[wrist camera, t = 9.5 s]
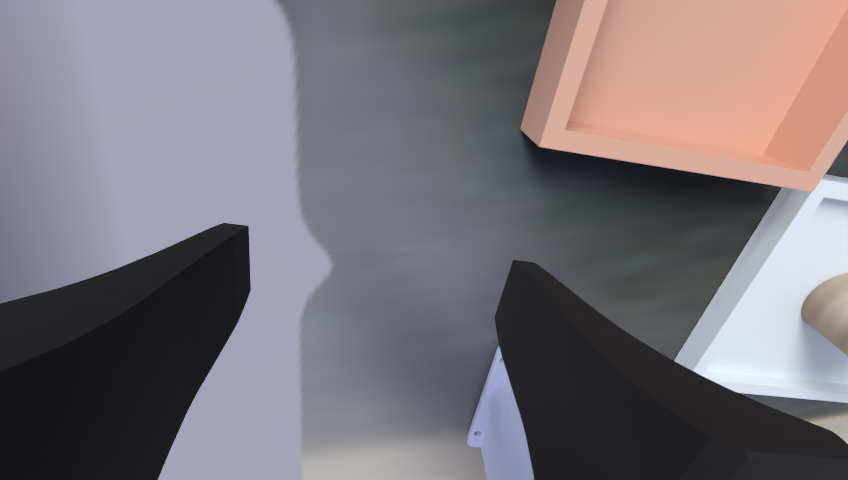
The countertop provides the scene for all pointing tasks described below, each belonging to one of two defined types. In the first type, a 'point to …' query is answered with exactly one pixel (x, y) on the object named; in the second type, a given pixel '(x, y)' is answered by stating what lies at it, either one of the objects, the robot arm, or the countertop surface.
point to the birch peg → (829, 311)
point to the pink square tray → (697, 86)
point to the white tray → (778, 303)
